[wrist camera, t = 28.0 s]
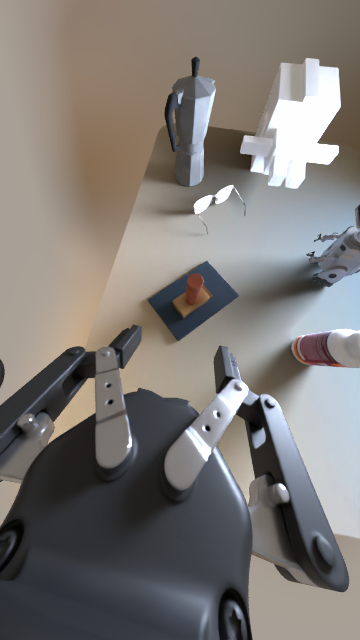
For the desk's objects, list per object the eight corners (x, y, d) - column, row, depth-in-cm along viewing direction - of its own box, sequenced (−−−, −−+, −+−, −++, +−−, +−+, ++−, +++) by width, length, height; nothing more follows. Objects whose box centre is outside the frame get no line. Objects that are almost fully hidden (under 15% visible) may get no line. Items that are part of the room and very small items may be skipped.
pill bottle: (299, 368, 29) (371, 376, 18) (284, 340, 30) (343, 332, 19) (324, 359, 29) (409, 361, 18) (309, 332, 31) (379, 319, 20)
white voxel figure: (228, 204, 43) (237, 140, 48) (308, 215, 42) (308, 149, 47) (252, 132, 29) (261, 51, 34) (375, 146, 28) (364, 61, 33)
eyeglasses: (229, 198, 41) (235, 182, 37) (244, 217, 40) (252, 203, 36) (191, 216, 39) (192, 201, 35) (206, 237, 38) (209, 224, 34)
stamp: (183, 320, 30) (185, 302, 20) (172, 306, 31) (170, 283, 21) (207, 303, 32) (220, 278, 22) (196, 290, 32) (204, 260, 22)
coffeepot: (192, 160, 46) (200, 39, 28) (213, 173, 44) (236, 54, 27) (159, 183, 43) (145, 64, 25) (180, 198, 41) (182, 82, 24)
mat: (178, 341, 30) (178, 340, 29) (148, 300, 32) (147, 299, 32) (238, 296, 33) (239, 295, 32) (206, 262, 35) (206, 260, 35)
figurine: (300, 245, 37) (379, 173, 22) (343, 265, 35) (457, 201, 21) (288, 269, 35) (366, 207, 20) (332, 291, 33) (451, 241, 19)
